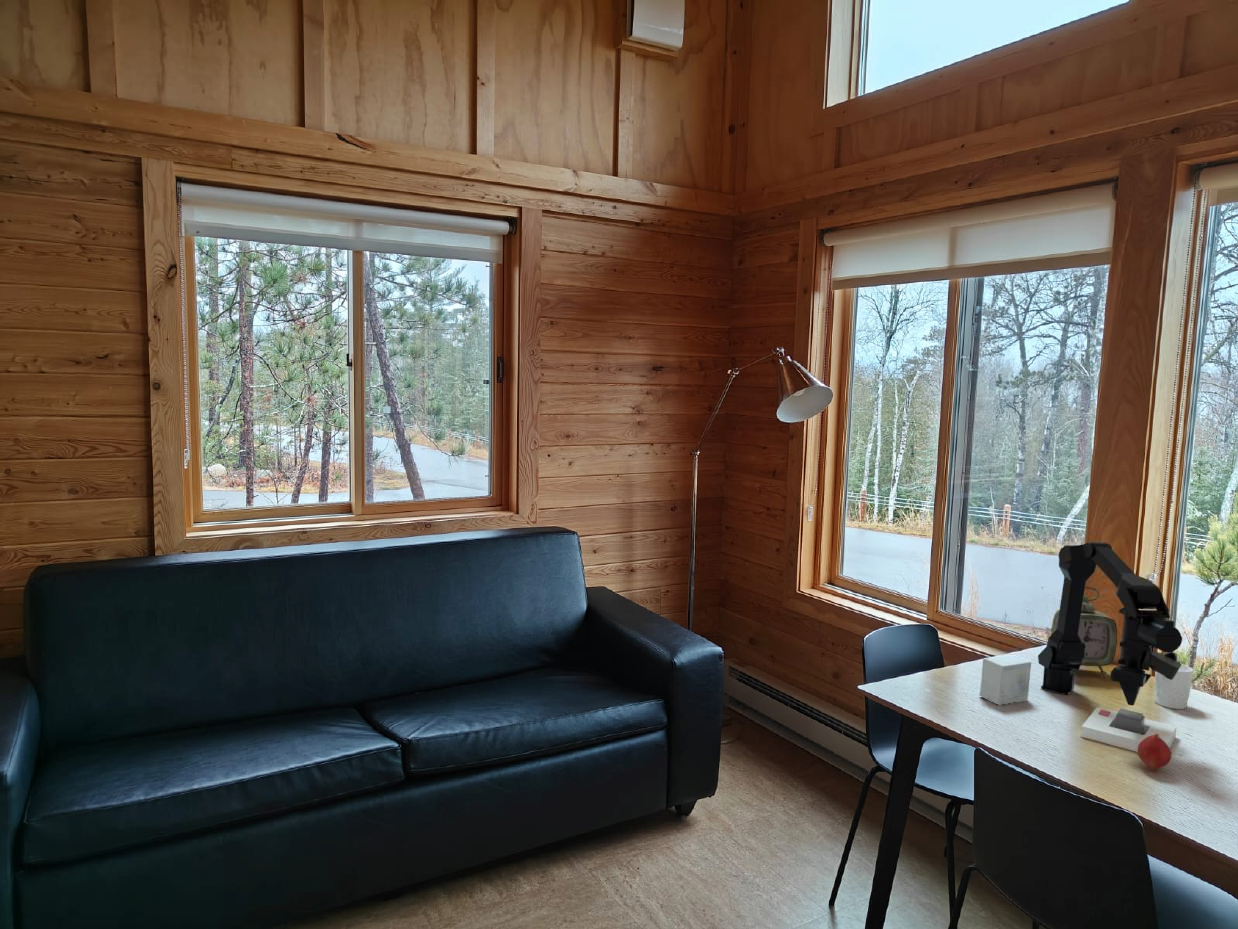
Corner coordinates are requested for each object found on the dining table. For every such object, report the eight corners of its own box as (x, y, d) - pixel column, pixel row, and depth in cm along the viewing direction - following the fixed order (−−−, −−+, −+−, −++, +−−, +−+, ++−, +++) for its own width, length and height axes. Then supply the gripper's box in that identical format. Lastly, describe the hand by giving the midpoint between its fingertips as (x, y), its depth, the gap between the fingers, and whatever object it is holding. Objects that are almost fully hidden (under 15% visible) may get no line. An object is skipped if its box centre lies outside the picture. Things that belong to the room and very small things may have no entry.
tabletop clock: (1058, 676, 226) (1065, 588, 224) (1045, 665, 235) (1052, 580, 233) (1113, 680, 224) (1121, 591, 222) (1099, 669, 233) (1106, 583, 231)
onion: (1129, 763, 172) (1132, 727, 171) (1155, 763, 172) (1158, 727, 172) (1149, 776, 166) (1153, 739, 165) (1176, 776, 167) (1179, 738, 166)
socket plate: (1080, 736, 185) (1081, 724, 185) (1096, 717, 197) (1097, 706, 197) (1164, 759, 175) (1165, 746, 174) (1175, 737, 187) (1176, 725, 186)
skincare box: (999, 706, 202) (1002, 665, 201) (978, 697, 208) (981, 657, 207) (1029, 701, 206) (1032, 661, 206) (1008, 692, 212) (1010, 653, 211)
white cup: (1195, 712, 202) (1199, 673, 202) (1160, 708, 204) (1164, 669, 203) (1180, 700, 210) (1184, 662, 209) (1146, 697, 212) (1150, 660, 211)
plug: (1114, 733, 186) (1116, 712, 185) (1117, 728, 189) (1119, 707, 188) (1139, 740, 183) (1141, 718, 182) (1143, 735, 186) (1145, 713, 185)
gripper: (1173, 655, 172) (1166, 727, 173) (1185, 637, 185) (1179, 703, 187) (1112, 643, 179) (1106, 712, 180) (1129, 627, 193) (1123, 690, 194)
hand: (1131, 705), depth 185 cm, fingers closed
